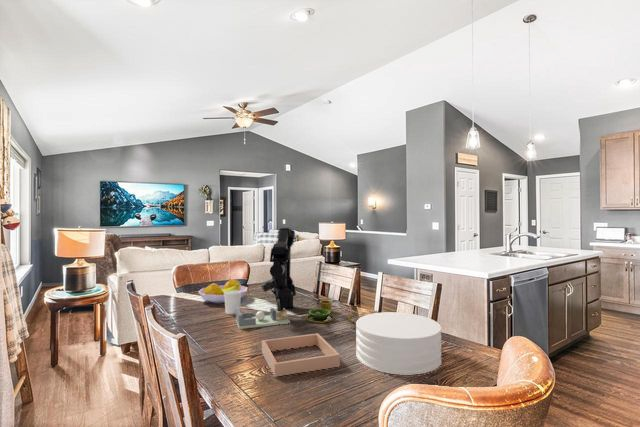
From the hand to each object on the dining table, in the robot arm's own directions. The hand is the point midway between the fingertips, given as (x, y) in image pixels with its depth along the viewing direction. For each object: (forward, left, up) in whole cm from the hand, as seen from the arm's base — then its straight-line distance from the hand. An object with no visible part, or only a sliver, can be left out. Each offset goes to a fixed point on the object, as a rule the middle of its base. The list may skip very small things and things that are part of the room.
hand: (280, 308), depth 163 cm
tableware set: (-27, +12, -6) cm, 30 cm away
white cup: (+19, -20, -6) cm, 28 cm away
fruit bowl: (+21, -46, -6) cm, 51 cm away
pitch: (+8, 0, -6) cm, 10 cm away
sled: (+1, 0, -4) cm, 4 cm away
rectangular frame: (+4, +44, -6) cm, 45 cm away
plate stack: (-28, +54, -6) cm, 61 cm away
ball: (+9, 0, -2) cm, 9 cm away
